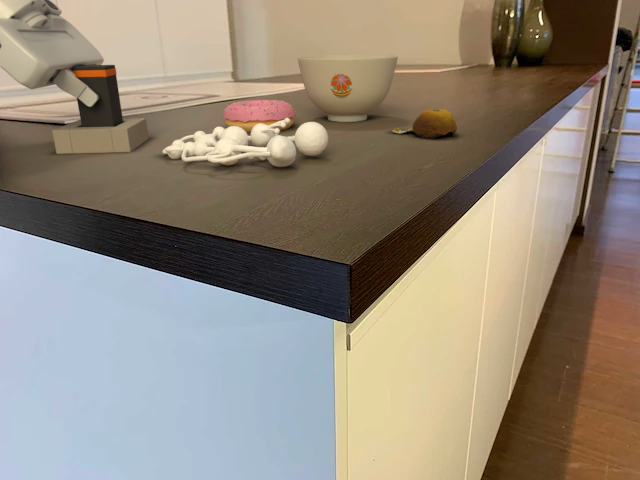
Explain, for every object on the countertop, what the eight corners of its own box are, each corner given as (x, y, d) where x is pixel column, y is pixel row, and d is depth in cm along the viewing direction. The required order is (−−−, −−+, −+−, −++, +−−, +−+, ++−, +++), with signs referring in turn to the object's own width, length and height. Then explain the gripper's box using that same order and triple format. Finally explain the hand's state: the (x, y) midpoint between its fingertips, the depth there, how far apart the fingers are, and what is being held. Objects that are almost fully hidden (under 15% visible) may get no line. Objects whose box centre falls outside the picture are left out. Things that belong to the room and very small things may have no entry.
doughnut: (209, 130, 82) (206, 102, 80) (261, 121, 89) (260, 95, 88) (259, 137, 75) (257, 107, 73) (310, 127, 83) (310, 99, 81)
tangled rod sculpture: (130, 172, 62) (122, 137, 60) (216, 141, 72) (211, 110, 71) (262, 190, 51) (257, 148, 50) (339, 151, 62) (337, 115, 61)
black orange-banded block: (83, 141, 68) (70, 67, 65) (94, 135, 72) (82, 65, 69) (116, 140, 68) (105, 66, 65) (125, 134, 72) (115, 64, 69)
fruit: (438, 128, 80) (439, 103, 78) (472, 137, 72) (475, 110, 71) (388, 133, 77) (389, 107, 76) (419, 143, 70) (421, 114, 68)
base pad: (56, 154, 66) (51, 130, 65) (83, 141, 75) (79, 119, 74) (130, 153, 67) (127, 128, 66) (148, 139, 75) (145, 118, 74)
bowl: (410, 116, 92) (413, 54, 88) (369, 130, 79) (370, 59, 76) (330, 111, 100) (329, 54, 96) (280, 123, 87) (277, 58, 83)
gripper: (-25, -9, 54) (89, 89, 58) (57, 2, 73) (140, 75, 77) (-59, 39, 56) (55, 131, 60) (31, 38, 75) (113, 108, 79)
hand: (103, 99), depth 69 cm, fingers closed on black orange-banded block, 4 cm apart
